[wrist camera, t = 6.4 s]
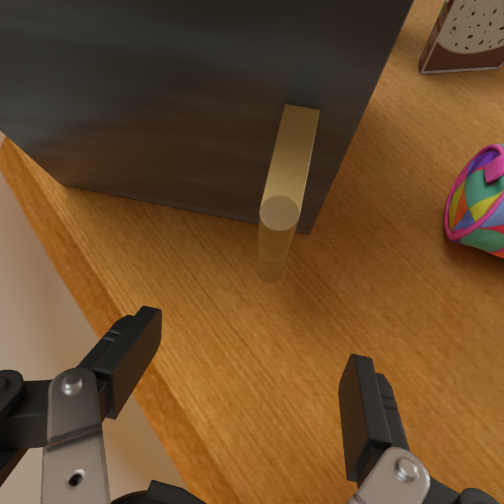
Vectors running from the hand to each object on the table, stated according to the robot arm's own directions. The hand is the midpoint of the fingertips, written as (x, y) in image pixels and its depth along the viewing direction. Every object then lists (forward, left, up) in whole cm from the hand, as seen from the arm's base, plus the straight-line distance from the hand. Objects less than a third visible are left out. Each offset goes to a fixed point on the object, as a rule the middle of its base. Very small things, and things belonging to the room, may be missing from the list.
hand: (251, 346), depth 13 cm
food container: (+16, +39, -15) cm, 45 cm away
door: (-10, +9, -15) cm, 20 cm away
